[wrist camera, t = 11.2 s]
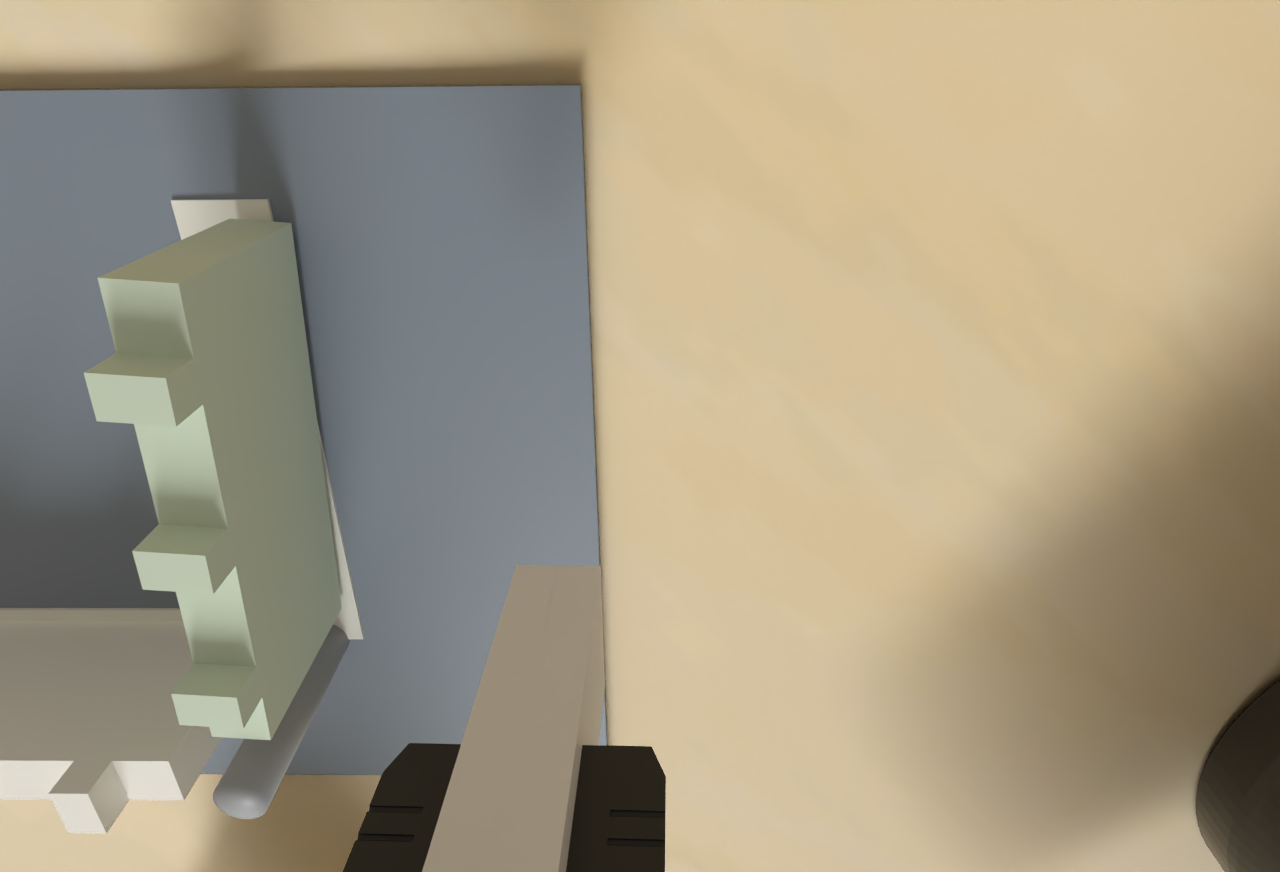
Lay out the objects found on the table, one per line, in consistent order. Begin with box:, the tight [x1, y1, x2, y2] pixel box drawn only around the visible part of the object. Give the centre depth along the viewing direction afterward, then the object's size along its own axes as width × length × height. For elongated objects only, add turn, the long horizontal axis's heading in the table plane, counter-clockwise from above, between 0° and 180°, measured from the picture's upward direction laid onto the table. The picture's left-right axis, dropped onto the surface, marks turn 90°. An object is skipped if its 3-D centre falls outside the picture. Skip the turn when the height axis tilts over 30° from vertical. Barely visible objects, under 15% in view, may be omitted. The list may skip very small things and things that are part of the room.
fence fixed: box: [0, 621, 350, 833], centre depth 23 cm, size 15×2×7 cm, turn 91°
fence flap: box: [84, 218, 342, 740], centre depth 19 cm, size 12×2×6 cm, turn 176°
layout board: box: [0, 84, 608, 775], centre depth 24 cm, size 25×23×1 cm
